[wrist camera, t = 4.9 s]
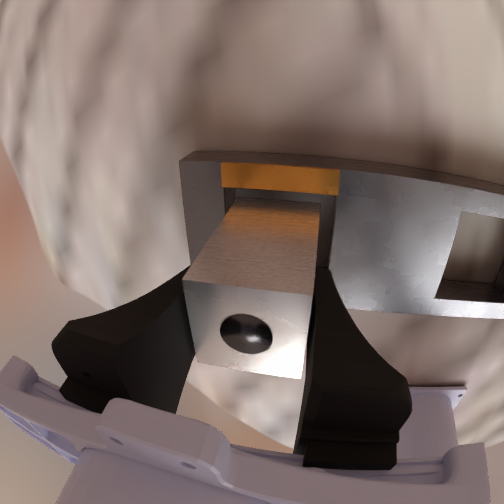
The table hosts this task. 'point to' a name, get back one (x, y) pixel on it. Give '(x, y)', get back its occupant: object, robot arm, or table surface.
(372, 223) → the rail
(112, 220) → the table surface
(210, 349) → the drilled metal block
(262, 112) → the table surface
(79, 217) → the table surface
